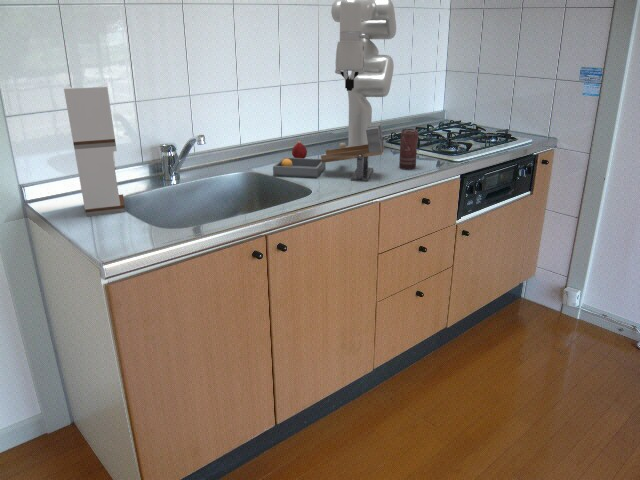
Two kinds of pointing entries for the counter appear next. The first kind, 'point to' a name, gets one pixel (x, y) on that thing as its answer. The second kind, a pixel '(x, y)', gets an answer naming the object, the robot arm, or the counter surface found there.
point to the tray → (300, 168)
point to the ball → (286, 163)
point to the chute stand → (362, 170)
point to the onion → (299, 151)
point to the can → (408, 149)
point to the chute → (358, 147)
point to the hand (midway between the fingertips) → (349, 90)
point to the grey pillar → (94, 148)
